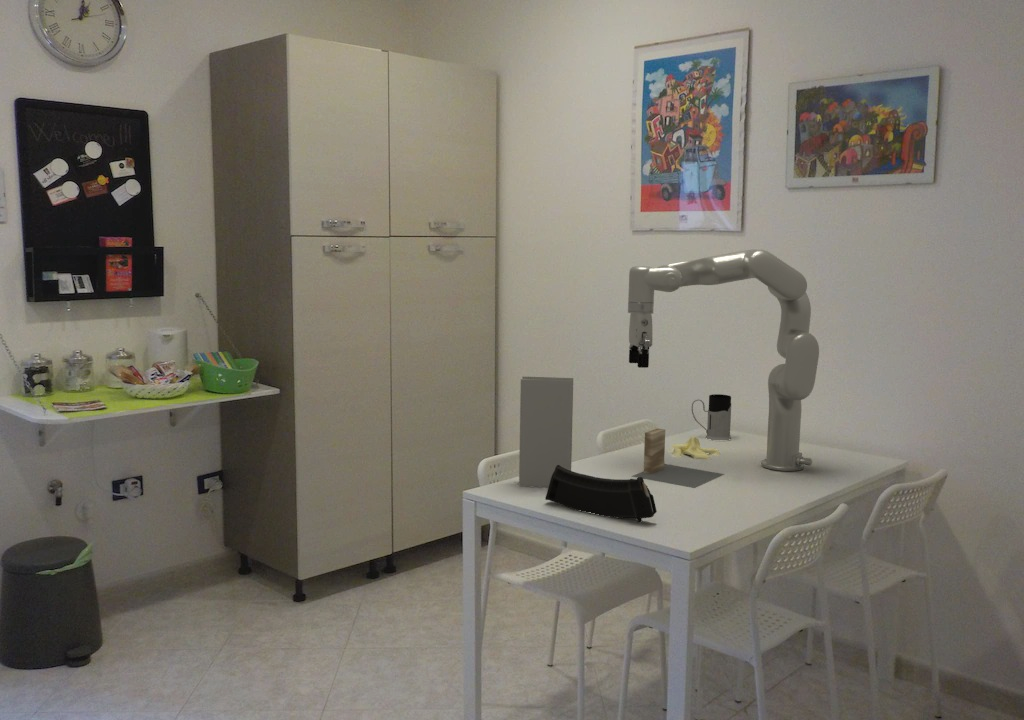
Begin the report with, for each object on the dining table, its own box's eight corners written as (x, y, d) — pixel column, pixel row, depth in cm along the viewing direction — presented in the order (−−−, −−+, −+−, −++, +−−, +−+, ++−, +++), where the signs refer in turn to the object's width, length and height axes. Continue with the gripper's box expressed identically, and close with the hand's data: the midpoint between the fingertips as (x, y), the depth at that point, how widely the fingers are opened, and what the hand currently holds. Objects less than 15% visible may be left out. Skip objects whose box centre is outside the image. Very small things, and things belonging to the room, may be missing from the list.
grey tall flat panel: (570, 483, 264) (573, 377, 260) (570, 488, 258) (572, 380, 255) (520, 481, 265) (522, 376, 261) (519, 486, 260) (520, 379, 256)
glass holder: (734, 441, 323) (736, 398, 321) (693, 441, 322) (695, 398, 320) (727, 435, 331) (729, 394, 329) (687, 435, 331) (689, 393, 329)
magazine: (537, 469, 243) (637, 452, 225) (544, 466, 246) (643, 449, 228) (552, 533, 242) (653, 521, 225) (559, 530, 245) (659, 518, 227)
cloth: (676, 445, 317) (677, 427, 317) (729, 452, 307) (730, 434, 307) (648, 457, 299) (649, 438, 298) (704, 466, 289) (705, 446, 288)
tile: (663, 468, 280) (665, 429, 278) (651, 474, 273) (652, 433, 272) (655, 467, 281) (657, 428, 280) (642, 472, 275) (644, 432, 273)
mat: (724, 475, 275) (724, 474, 275) (694, 489, 259) (694, 487, 259) (663, 465, 286) (663, 463, 286) (631, 477, 271) (631, 476, 270)
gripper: (661, 310, 270) (659, 369, 272) (644, 306, 287) (642, 361, 289) (636, 310, 269) (633, 369, 271) (621, 305, 286) (619, 361, 288)
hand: (638, 365), depth 280 cm, fingers open, 9 cm apart
